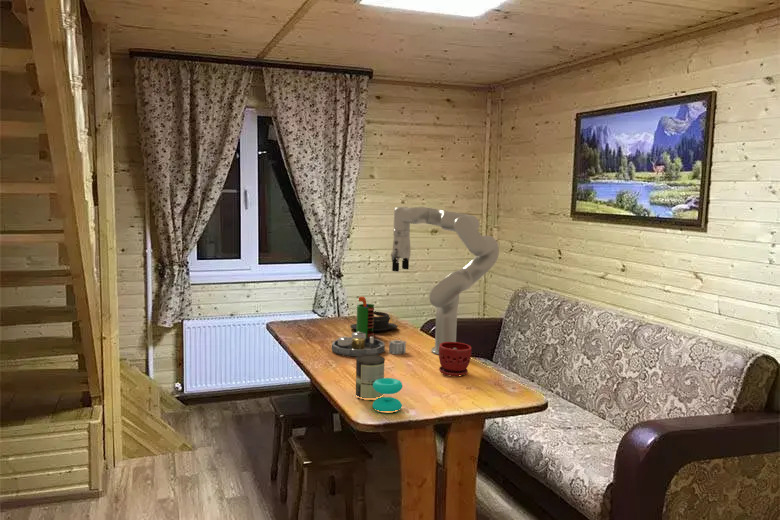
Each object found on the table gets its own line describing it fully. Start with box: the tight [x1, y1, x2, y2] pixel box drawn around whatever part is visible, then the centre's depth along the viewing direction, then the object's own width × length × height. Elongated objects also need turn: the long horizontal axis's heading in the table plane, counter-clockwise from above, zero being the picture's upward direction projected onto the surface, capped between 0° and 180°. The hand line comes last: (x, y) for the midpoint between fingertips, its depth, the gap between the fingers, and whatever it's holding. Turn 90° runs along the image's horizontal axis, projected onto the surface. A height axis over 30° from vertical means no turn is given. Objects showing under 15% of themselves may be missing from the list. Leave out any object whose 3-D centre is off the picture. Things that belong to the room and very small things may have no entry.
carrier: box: [331, 331, 386, 358], centre depth 303 cm, size 24×24×7 cm
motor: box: [355, 296, 375, 338], centre depth 329 cm, size 10×9×20 cm
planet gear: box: [388, 339, 407, 355], centre depth 301 cm, size 8×8×5 cm
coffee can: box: [355, 355, 386, 398], centre depth 238 cm, size 10×10×14 cm
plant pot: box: [438, 341, 472, 377], centre depth 269 cm, size 13×13×12 cm
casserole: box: [349, 311, 398, 333], centre depth 346 cm, size 25×19×8 cm
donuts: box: [371, 377, 403, 411], centre depth 225 cm, size 10×10×10 cm
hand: (400, 270), depth 310 cm, fingers open, 9 cm apart
